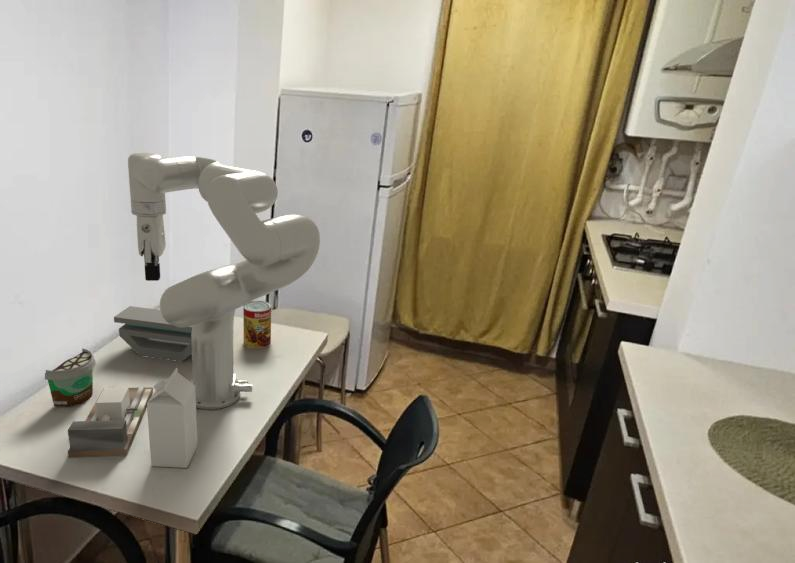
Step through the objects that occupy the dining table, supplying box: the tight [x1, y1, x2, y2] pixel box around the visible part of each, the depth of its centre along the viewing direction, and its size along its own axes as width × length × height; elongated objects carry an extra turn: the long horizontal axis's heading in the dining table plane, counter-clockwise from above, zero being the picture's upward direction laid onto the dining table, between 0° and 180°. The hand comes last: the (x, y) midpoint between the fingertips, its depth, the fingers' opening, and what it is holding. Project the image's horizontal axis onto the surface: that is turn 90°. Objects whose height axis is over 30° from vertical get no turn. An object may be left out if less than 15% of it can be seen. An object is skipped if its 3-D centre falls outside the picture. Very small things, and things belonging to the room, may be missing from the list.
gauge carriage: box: [95, 387, 138, 421], centre depth 124 cm, size 7×7×5 cm
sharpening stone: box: [113, 305, 192, 362], centre depth 154 cm, size 25×8×11 cm, turn 84°
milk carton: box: [146, 367, 198, 469], centre depth 112 cm, size 7×7×19 cm
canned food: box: [242, 300, 272, 350], centre depth 164 cm, size 8×8×12 cm
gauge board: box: [67, 385, 154, 458], centre depth 124 cm, size 24×11×6 cm, turn 11°
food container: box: [44, 348, 96, 408], centre depth 130 cm, size 12×6×10 cm, turn 168°
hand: (153, 279), depth 138 cm, fingers closed
